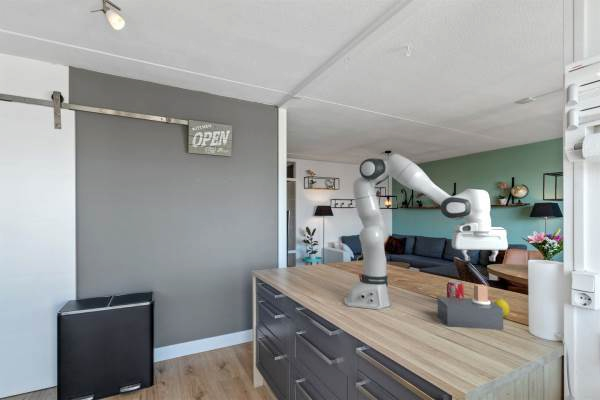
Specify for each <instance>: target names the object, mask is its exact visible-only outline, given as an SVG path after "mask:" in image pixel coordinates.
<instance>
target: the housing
mask: <svg viewBox="0 0 600 400" xmlns="http://www.w3.org/2000/svg"><path fill="white" fill-rule="evenodd" d="M472 299H473V298H469V297H468V298H467V297H466V298H465V297H464V298H449V297H447V296H445V297H444V296H442V297H441V296H436V301H437V302H436V303H437V304H436V305H437V308H436V309H437V316H438V318H439V319H440V320H441V321H442V322H443V324H445V326H446V327H448V328H449V327H452V328H467V329H468V328H469V329H470V328H471V329H482V330H483V329H484V330H485V329H486V330H502V331H503V330H504V318H503V308H501V307H499V306H498V305H496V304H494V303H495V302H492V301H491V300H489V301H490V304H491V305H487V306H485V305H477V304H474V303H472Z"/></svg>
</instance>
